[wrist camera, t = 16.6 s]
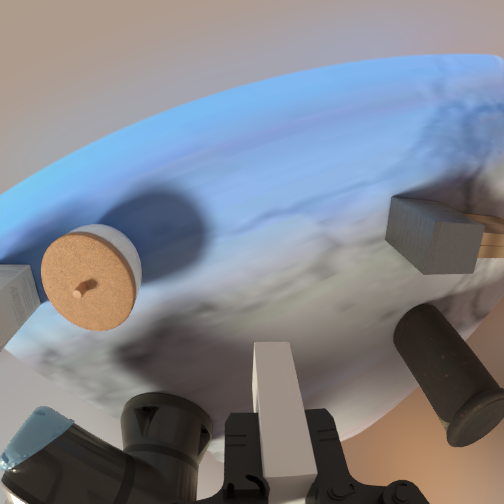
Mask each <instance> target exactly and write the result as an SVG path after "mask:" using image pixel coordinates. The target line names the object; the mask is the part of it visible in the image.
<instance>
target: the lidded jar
mask: <svg viewBox="0 0 504 504" xmlns="http://www.w3.org/2000/svg"><path fill="white" fill-rule="evenodd" d="M41 278H42V283H43V287H44V290H45V292H46V294H47V297H48V298H49V300H50V302H51V304H52V305H53V306H54V307H55V309H56V310H57V311H58V312H59V313H60V314H61V315H62V316H63V317H64V318H66V319H67V320H68V321H70V322H71V323H73V324H75V325H77V326H79V327H82V328H85V329H88V330H95V331H103V330H109V329H113V328H115V327H117V326H119V325H120V324H122V323H123V322H124V321H125V320H126V319H127V318H128V316H129V314H130V313H131V311H132V309H133V306H134V303H135V300H136V298H137V295H138V292H139V289H140V285H141V279H142V267H141V261H140V258H139V255H138V252H137V250H136V248H135V246H134V245H133V243H132V242H131V241H130V240H129V239H128V237H127V236H125V235H124V234H123V233H122V232H120V231H119V230H117V229H115V228H113V227H111V226H107V225H103V224H88V225H84V226H80V227H78V228H75V229H73V230H71V231H69V232H68V233H66V234H65V235H63V236H61V237H59V238H57V239H56V240H55V241H54V242H53V243H51V244H50V246H49V247H48V248H47V250H46V252H45V254H44V256H43V259H42V264H41Z"/></svg>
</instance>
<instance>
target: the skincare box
mask: <svg viewBox="0 0 504 504" xmlns="http://www.w3.org/2000/svg"><path fill="white" fill-rule="evenodd" d="M40 305H41V302H40V299H39V296H38V292H37V289H36V285H35V281H34V278H33V274H32V270H31V266H30V265H0V352H1V350H2V349H3V348H4V347H5V345H6V344H7V343H8V342H9V340H10V339H11V338H12V337H13V336H14V335H15V333H16V332H17V331H18V330H19V329H20V327H21V326H22V325H23V324H24V323H25V322H26V321H27V319H28V318H29V317H30V316H31V315H32V314H33V313H34V311H35V310H36V309H37V308H38V307H39V306H40Z"/></svg>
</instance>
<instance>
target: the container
mask: <svg viewBox="0 0 504 504" xmlns="http://www.w3.org/2000/svg"><path fill="white" fill-rule="evenodd" d="M394 344H395V347H396V348H397V350H398V352H399V353H400V355H401V356H402V358H403V360H404V361H405V363H406V364H407V366H408V367H409V369H410V371H411V372H412V374H413V375H414V377H415V379H416V380H417V382H418V383H419V385H420V387H421V388H422V390H423V392H424V393H425V395H426V397H427V398H428V400H429V402H430V403H431V405H432V407H433V409H434V410H435V412H436V414H437V415H438V417H439V419H440V421H441V423H442V425H443V426H444V428H445V430H446V433H447V441H448V443H449V444H450V445H451V446H453V447H464V446H467V445H470V444H472V443H474V442H476V441H478V440H479V439H481V438H482V437H484V436H485V435H487V434H488V433H489V432H490V431H491V430H492V429H493V428H495V427H496V426H497V425H498V424H499V422H500V421H501V420H502V419H503V418H504V389H503V388H500V387H499V385H498V384H497V382H496V381H495V380H494V378H493V377H492V376H491V375H490V373H489V372H488V371H487V370H486V368H485V367H484V366H483V364H482V363H481V362H480V360H479V359H478V358H477V356H476V355H475V354H474V352H473V351H472V350H471V349H470V348H469V346H468V345H467V344H466V343H465V341H464V340H463V339H462V338H461V336H460V335H459V334H458V333H457V331H456V330H455V329H454V328H453V327H452V325H451V324H450V323H449V322H448V321H447V319H446V318H445V317H444V316H443V315H442V314H441V312H440V311H439V310H438V309H437V308H436V307H434V306H432V305H428V304H425V305H420V306H417V307H415V308H413V309H412V310H410V311H409V312H408V313H406V314H405V315H404V316H403V317H402V319H401V320H400V321H399V323H398V325H397V327H396V329H395V332H394Z"/></svg>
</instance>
